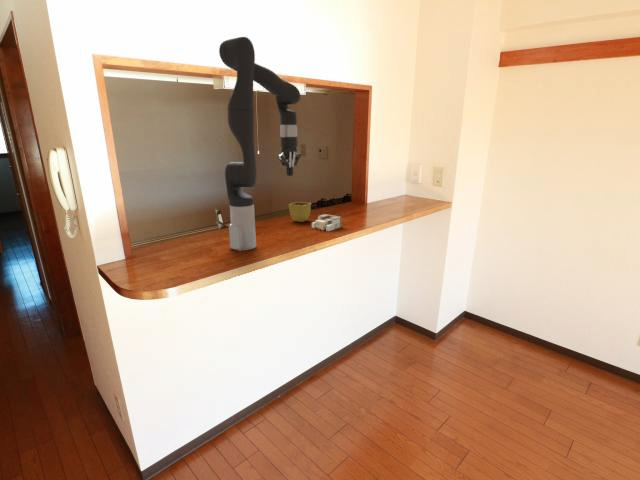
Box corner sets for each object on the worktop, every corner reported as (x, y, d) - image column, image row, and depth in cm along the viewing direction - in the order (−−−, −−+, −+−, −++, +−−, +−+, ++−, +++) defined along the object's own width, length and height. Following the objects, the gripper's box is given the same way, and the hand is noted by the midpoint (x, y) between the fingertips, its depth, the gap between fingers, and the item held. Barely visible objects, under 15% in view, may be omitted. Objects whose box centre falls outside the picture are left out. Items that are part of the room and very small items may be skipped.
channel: (328, 231, 168) (328, 220, 167) (311, 227, 175) (311, 217, 173) (341, 227, 176) (341, 216, 174) (325, 223, 182) (325, 213, 181)
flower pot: (288, 221, 187) (288, 204, 184) (297, 218, 194) (297, 201, 191) (303, 223, 183) (303, 205, 180) (311, 220, 190) (311, 202, 188)
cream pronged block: (323, 230, 171) (323, 222, 169) (315, 228, 174) (315, 220, 173) (334, 227, 176) (334, 219, 175) (327, 225, 179) (327, 217, 178)
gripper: (293, 135, 167) (293, 173, 172) (271, 136, 158) (273, 176, 163) (305, 135, 163) (305, 175, 168) (284, 136, 153) (285, 177, 158)
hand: (289, 175), depth 165 cm, fingers closed
